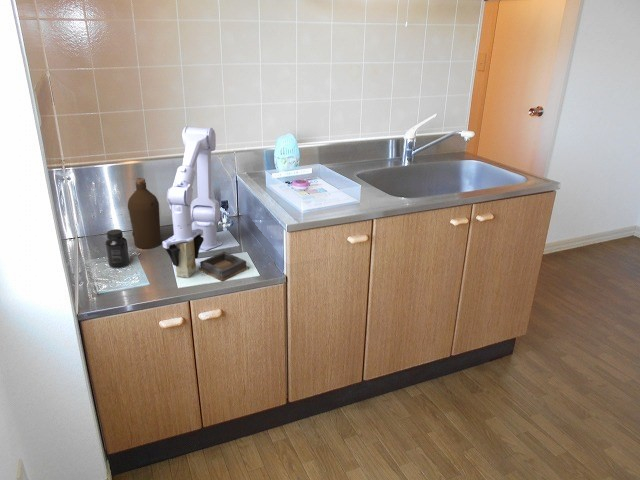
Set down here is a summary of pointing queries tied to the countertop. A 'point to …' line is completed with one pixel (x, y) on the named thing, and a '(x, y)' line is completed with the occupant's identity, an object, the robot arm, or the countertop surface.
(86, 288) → the countertop surface
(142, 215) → the olive oil
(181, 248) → the skincare box
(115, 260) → the supplement bottle
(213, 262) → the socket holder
